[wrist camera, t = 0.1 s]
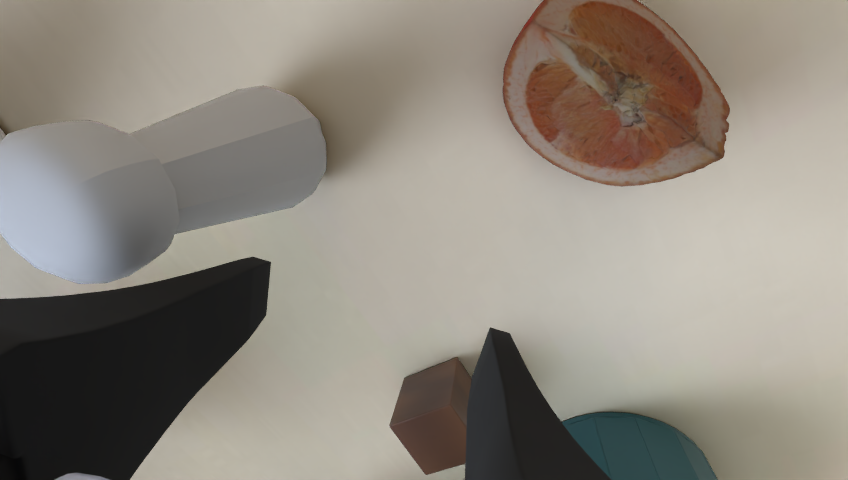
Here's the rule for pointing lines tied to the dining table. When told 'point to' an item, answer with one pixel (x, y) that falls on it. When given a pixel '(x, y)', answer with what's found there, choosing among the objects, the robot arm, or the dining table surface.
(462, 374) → the block
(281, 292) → the dining table surface
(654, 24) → the fruit slice
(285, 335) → the dining table surface
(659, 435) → the tin
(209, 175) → the salt shaker
